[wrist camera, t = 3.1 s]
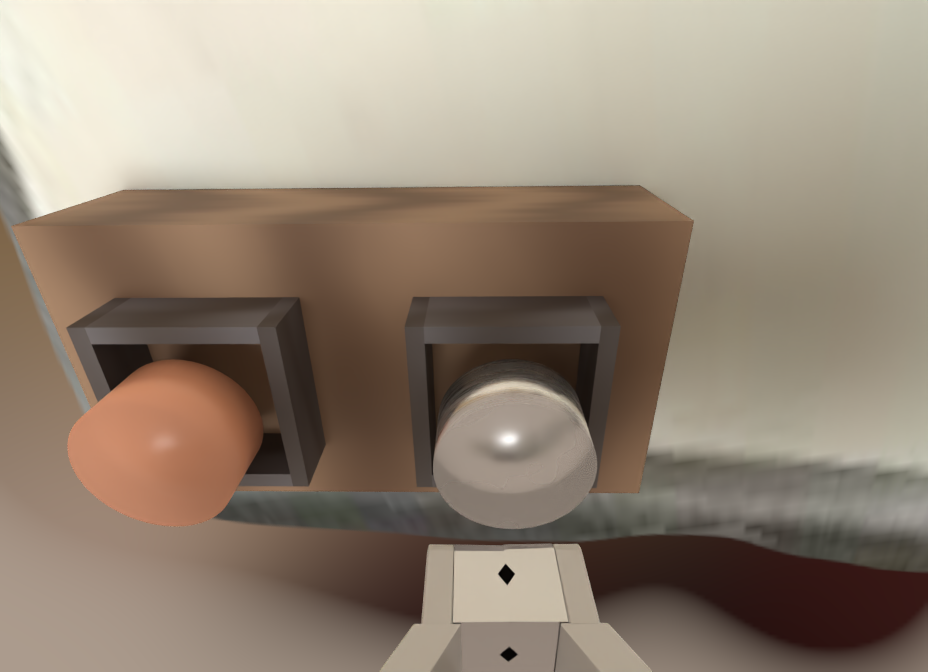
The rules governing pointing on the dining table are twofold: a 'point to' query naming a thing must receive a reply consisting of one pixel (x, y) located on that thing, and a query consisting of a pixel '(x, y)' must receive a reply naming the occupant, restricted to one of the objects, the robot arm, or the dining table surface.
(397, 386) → the button box
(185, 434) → the terracotta button
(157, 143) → the dining table surface
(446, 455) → the steel button
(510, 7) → the dining table surface
